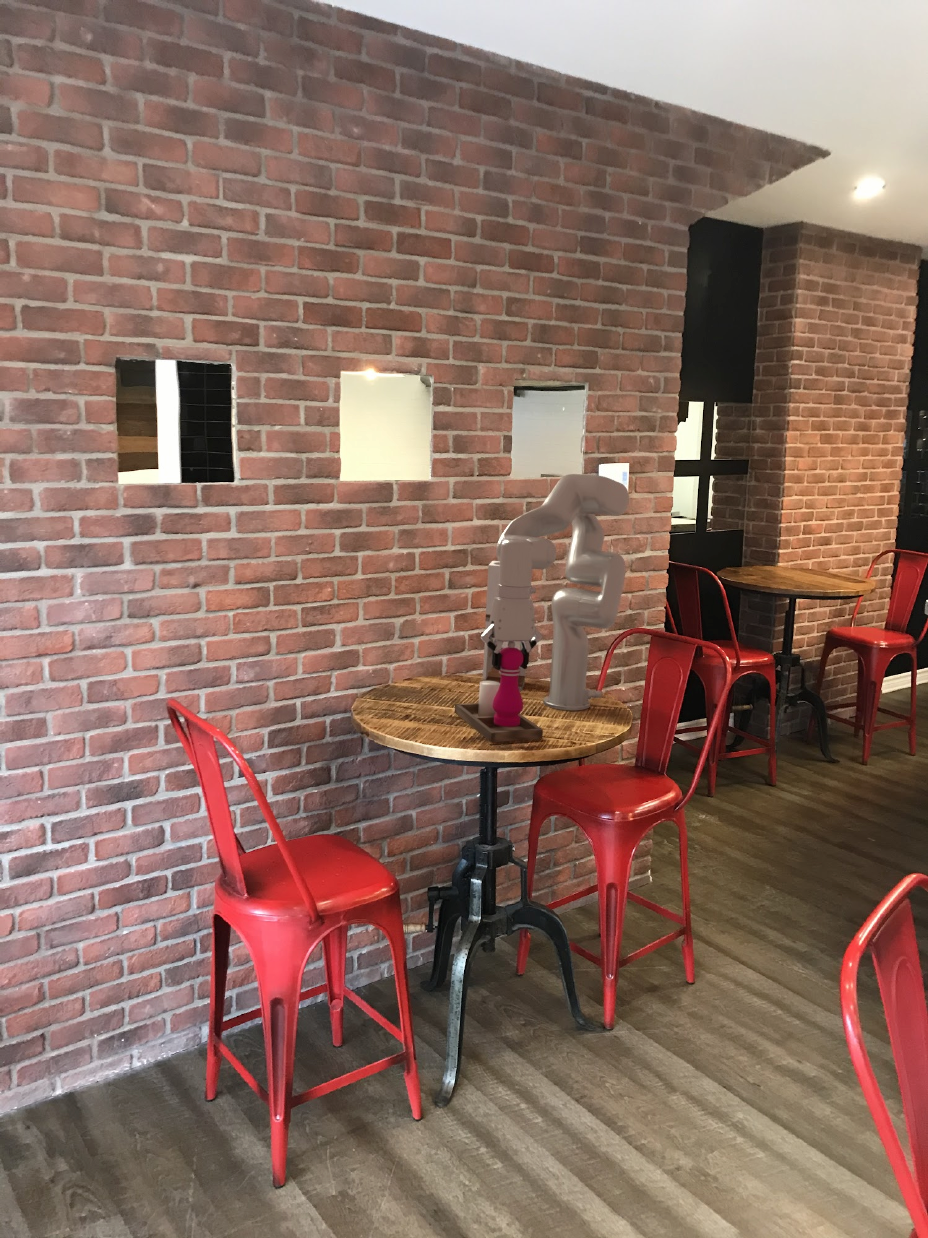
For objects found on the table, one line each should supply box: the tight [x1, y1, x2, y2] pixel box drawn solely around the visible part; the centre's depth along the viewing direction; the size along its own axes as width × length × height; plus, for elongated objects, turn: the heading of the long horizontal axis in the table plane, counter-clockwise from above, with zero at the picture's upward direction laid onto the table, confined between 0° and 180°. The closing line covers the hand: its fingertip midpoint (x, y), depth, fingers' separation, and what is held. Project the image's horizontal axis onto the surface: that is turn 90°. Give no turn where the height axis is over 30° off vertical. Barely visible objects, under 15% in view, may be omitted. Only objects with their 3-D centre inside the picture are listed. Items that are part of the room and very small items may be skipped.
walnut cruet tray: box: [454, 702, 544, 746], centre depth 239 cm, size 13×25×3 cm, turn 20°
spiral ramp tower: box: [482, 560, 527, 692], centre depth 280 cm, size 11×11×35 cm
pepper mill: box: [493, 641, 524, 727], centre depth 232 cm, size 7×7×20 cm
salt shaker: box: [478, 680, 500, 717], centre depth 244 cm, size 5×5×9 cm
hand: (509, 667), depth 231 cm, fingers closed on pepper mill, 6 cm apart
